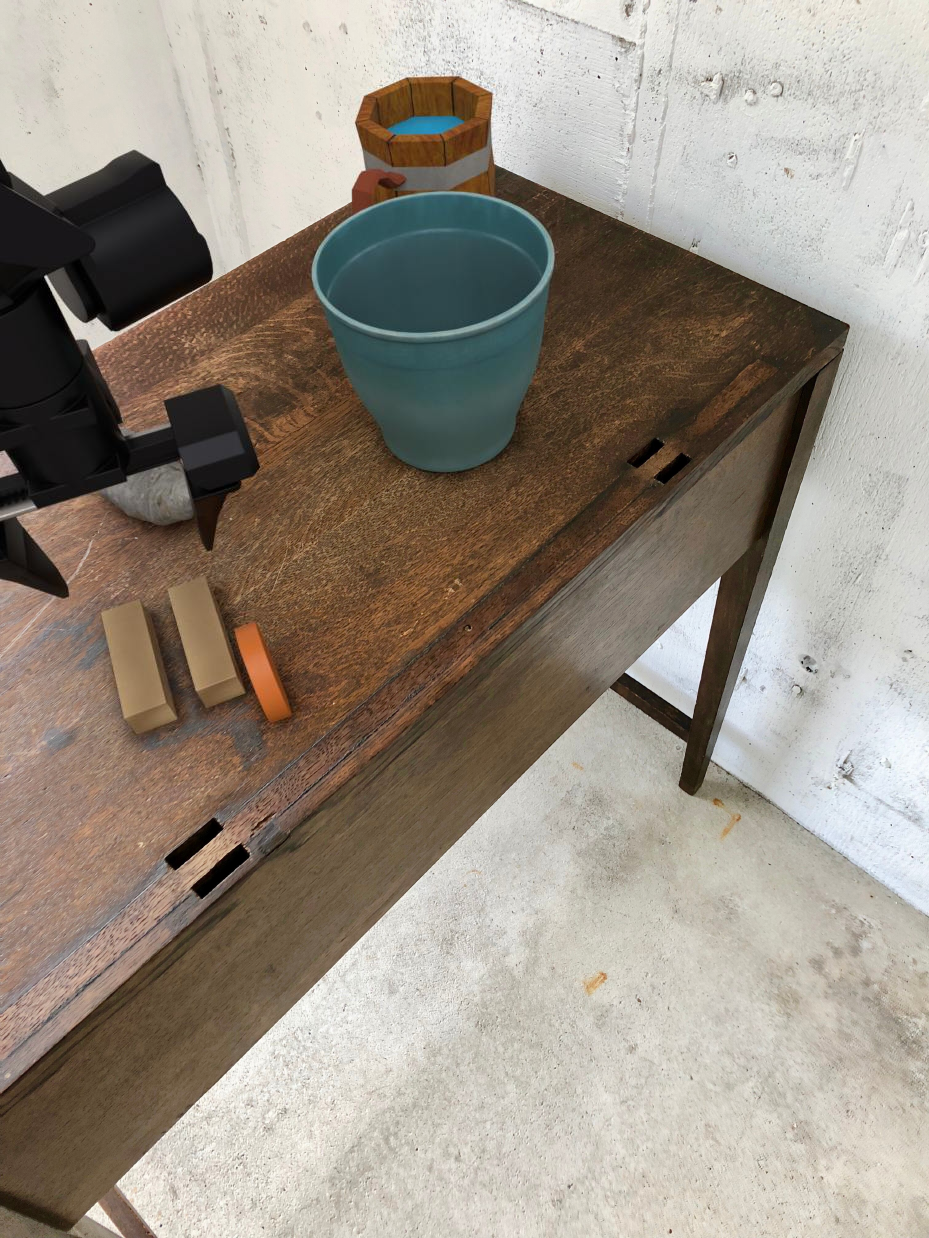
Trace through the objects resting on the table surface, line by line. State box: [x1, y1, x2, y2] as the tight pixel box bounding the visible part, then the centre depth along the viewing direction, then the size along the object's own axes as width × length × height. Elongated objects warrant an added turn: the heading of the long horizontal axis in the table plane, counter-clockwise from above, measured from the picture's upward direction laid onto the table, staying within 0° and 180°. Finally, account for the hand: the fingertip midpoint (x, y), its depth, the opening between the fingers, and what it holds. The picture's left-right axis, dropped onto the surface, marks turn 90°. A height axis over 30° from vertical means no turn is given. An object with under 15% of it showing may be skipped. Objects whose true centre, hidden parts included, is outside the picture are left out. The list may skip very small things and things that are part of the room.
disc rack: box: [100, 575, 247, 736], centre depth 65 cm, size 8×10×2 cm
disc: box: [234, 621, 292, 724], centre depth 61 cm, size 2×7×7 cm, turn 23°
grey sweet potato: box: [97, 426, 194, 526], centre depth 73 cm, size 6×14×8 cm, turn 50°
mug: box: [351, 75, 496, 216], centre depth 87 cm, size 20×14×15 cm
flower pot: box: [311, 191, 556, 473], centre depth 72 cm, size 18×18×17 cm
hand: (138, 569), depth 56 cm, fingers open, 9 cm apart
